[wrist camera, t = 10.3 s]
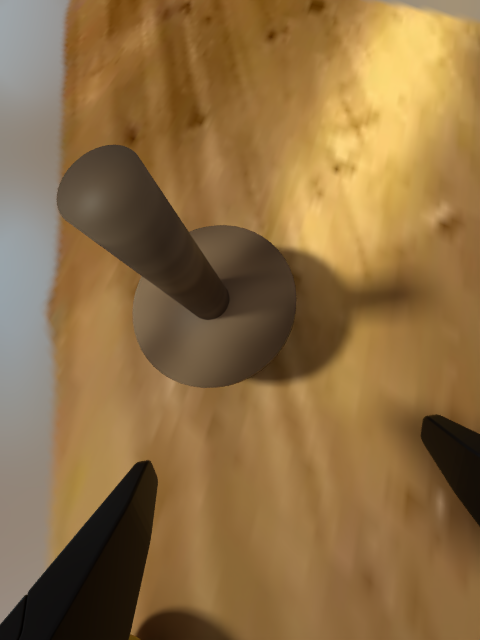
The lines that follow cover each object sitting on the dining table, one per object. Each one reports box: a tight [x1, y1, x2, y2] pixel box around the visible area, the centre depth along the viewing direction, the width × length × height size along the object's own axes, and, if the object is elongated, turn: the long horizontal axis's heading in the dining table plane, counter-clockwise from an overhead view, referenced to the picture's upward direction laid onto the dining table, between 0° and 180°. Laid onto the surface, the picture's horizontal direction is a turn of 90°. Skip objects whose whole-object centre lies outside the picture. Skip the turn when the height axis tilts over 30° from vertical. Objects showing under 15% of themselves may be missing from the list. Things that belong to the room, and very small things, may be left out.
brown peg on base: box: [57, 145, 296, 388], centre depth 14 cm, size 12×12×12 cm
